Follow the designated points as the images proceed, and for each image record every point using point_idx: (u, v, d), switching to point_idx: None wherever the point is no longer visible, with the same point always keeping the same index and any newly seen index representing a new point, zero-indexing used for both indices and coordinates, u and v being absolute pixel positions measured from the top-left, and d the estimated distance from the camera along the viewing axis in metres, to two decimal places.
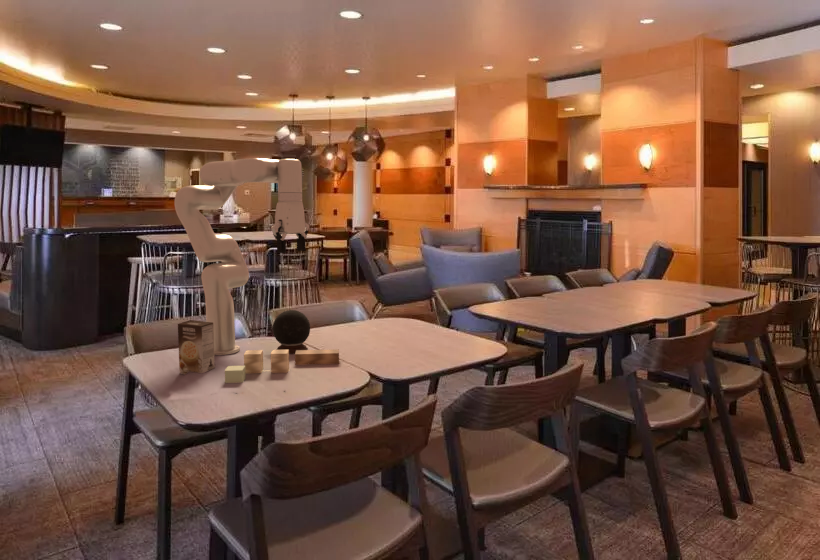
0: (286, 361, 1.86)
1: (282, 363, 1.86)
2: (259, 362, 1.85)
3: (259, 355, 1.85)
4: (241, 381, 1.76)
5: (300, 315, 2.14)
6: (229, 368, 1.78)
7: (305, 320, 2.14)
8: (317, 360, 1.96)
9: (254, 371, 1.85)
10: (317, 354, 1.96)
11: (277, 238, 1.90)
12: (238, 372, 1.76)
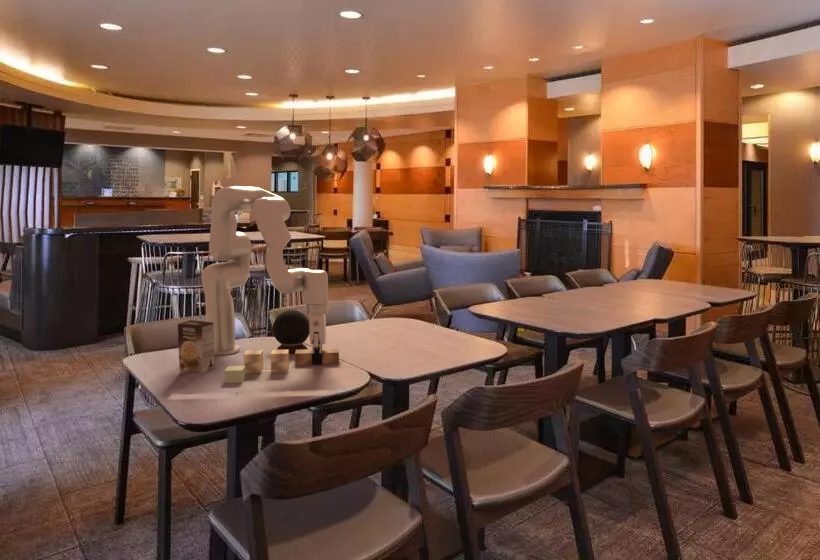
0: (286, 361, 1.86)
1: (282, 363, 1.86)
2: (259, 362, 1.85)
3: (259, 355, 1.85)
4: (241, 381, 1.76)
5: (300, 315, 2.14)
6: (229, 368, 1.78)
7: (305, 320, 2.14)
8: None
9: (254, 371, 1.85)
10: None
11: None
12: (238, 372, 1.76)
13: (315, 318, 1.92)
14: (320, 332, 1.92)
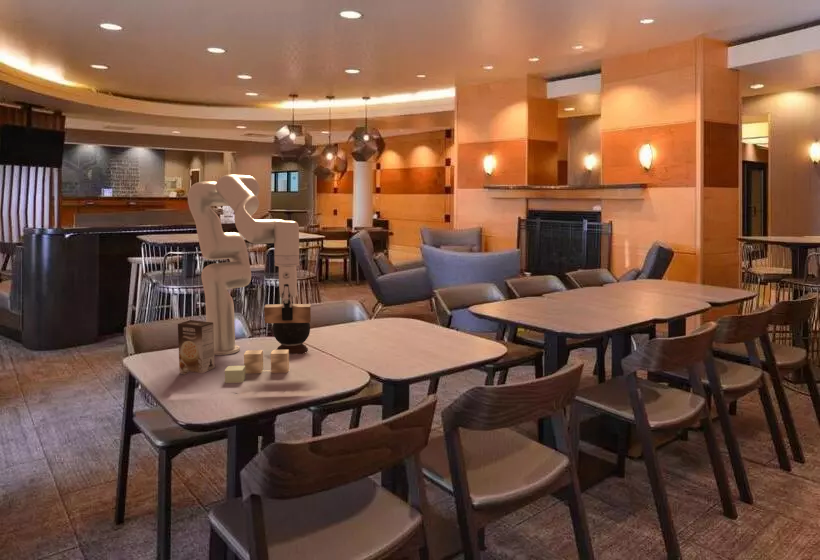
0: (286, 361, 1.86)
1: (282, 363, 1.86)
2: (259, 362, 1.85)
3: (259, 355, 1.85)
4: (241, 381, 1.76)
5: None
6: (229, 368, 1.78)
7: None
8: None
9: (254, 371, 1.85)
10: None
11: None
12: (238, 372, 1.76)
13: (285, 270, 1.84)
14: (290, 284, 1.84)
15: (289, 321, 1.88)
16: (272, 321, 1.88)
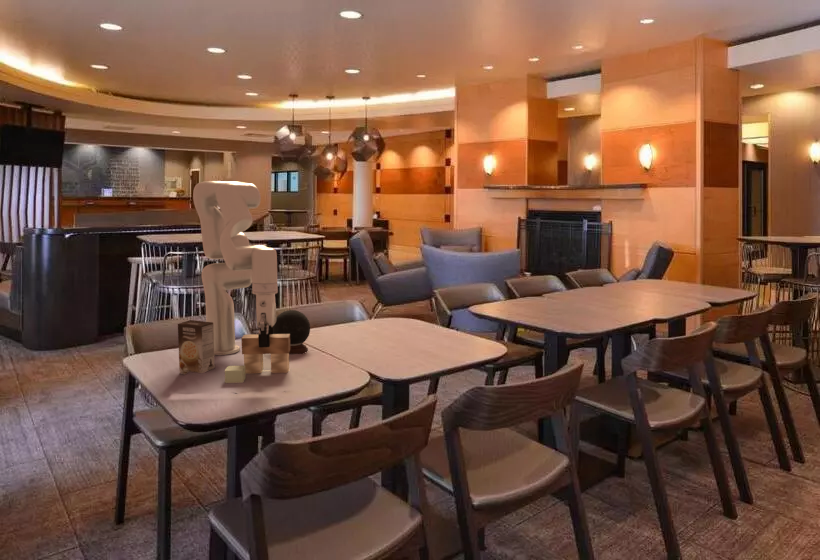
0: (286, 361, 1.86)
1: (282, 363, 1.86)
2: (259, 362, 1.85)
3: (259, 355, 1.85)
4: (241, 381, 1.76)
5: (300, 315, 2.14)
6: (229, 368, 1.78)
7: (305, 320, 2.14)
8: None
9: (254, 371, 1.85)
10: None
11: None
12: (238, 372, 1.76)
13: (262, 298, 1.80)
14: (267, 313, 1.81)
15: (267, 352, 1.85)
16: (249, 352, 1.84)
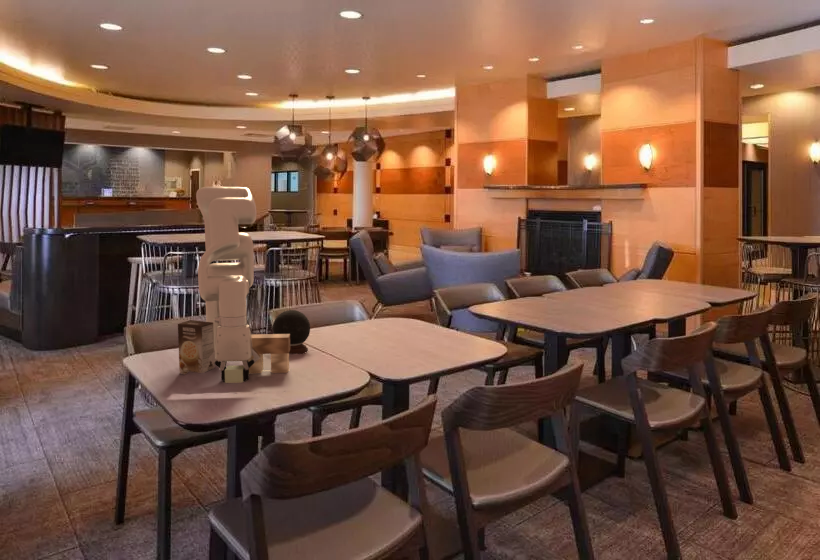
0: (286, 361, 1.86)
1: (282, 363, 1.86)
2: (259, 362, 1.85)
3: None
4: (241, 381, 1.76)
5: (300, 315, 2.14)
6: (229, 367, 1.78)
7: (305, 320, 2.14)
8: (265, 344, 1.85)
9: (254, 371, 1.85)
10: (265, 338, 1.84)
11: (250, 366, 1.78)
12: (238, 371, 1.76)
13: None
14: None
15: (267, 352, 1.85)
16: None
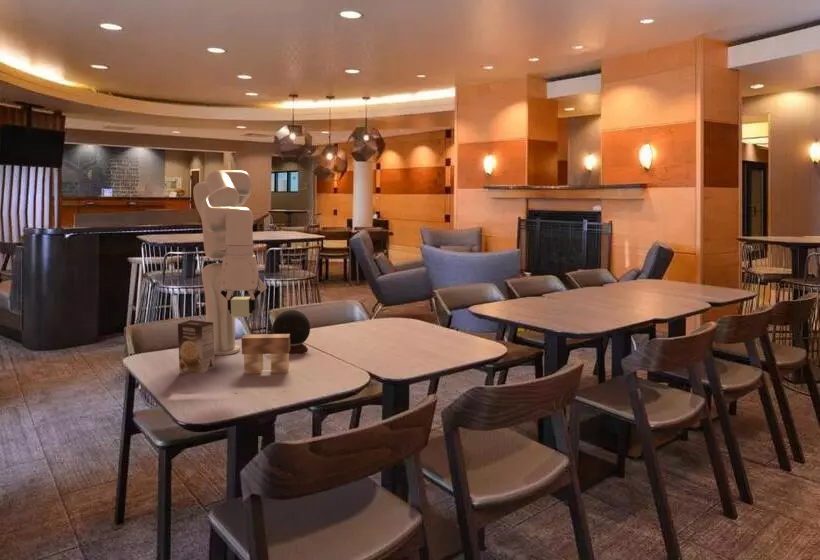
0: (286, 361, 1.86)
1: (282, 363, 1.86)
2: (259, 362, 1.85)
3: (259, 355, 1.85)
4: (247, 311, 1.76)
5: (300, 315, 2.14)
6: (235, 298, 1.78)
7: (305, 320, 2.14)
8: (265, 344, 1.85)
9: (254, 371, 1.85)
10: (265, 338, 1.84)
11: None
12: (244, 301, 1.75)
13: None
14: None
15: (267, 352, 1.85)
16: (249, 352, 1.84)
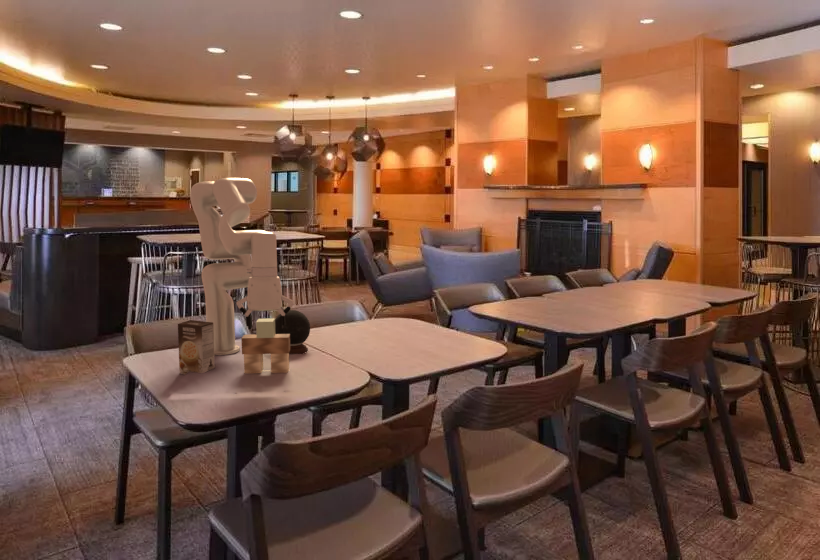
0: (286, 361, 1.86)
1: (282, 363, 1.86)
2: (259, 362, 1.85)
3: (259, 355, 1.85)
4: (271, 332, 1.84)
5: (300, 315, 2.14)
6: (260, 320, 1.86)
7: (305, 320, 2.14)
8: (265, 344, 1.85)
9: (254, 371, 1.85)
10: (265, 338, 1.84)
11: (286, 313, 1.86)
12: (269, 323, 1.84)
13: None
14: None
15: (267, 352, 1.85)
16: (249, 352, 1.84)
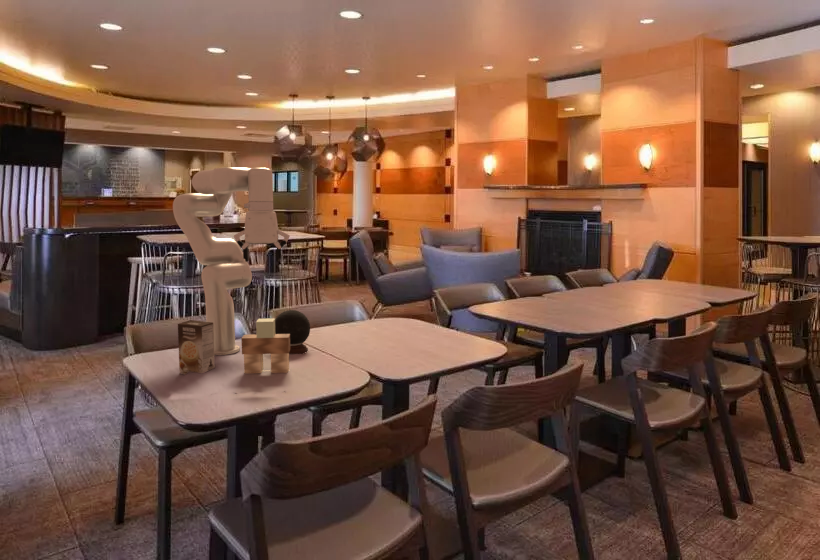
0: (286, 361, 1.86)
1: (282, 363, 1.86)
2: (259, 362, 1.85)
3: (259, 355, 1.85)
4: (271, 332, 1.84)
5: (300, 315, 2.14)
6: (260, 320, 1.86)
7: (305, 320, 2.14)
8: (265, 344, 1.85)
9: (254, 371, 1.85)
10: (265, 338, 1.84)
11: (282, 246, 1.94)
12: (269, 323, 1.84)
13: None
14: None
15: (267, 352, 1.85)
16: (249, 352, 1.84)
